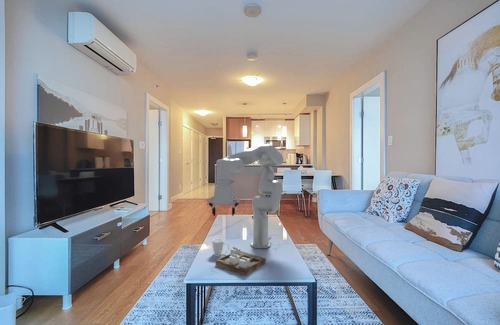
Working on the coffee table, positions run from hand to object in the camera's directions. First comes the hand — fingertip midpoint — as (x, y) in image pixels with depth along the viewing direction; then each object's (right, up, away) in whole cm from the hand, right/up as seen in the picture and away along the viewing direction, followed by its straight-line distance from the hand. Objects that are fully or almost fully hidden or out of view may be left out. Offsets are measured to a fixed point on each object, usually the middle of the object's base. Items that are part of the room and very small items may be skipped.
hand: (223, 215), depth 130 cm
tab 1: (+6, -24, +5) cm, 25 cm away
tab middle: (+6, -24, -5) cm, 25 cm away
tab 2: (+11, -24, -9) cm, 28 cm away
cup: (-3, -25, +13) cm, 28 cm away
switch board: (+9, -25, -1) cm, 27 cm away
